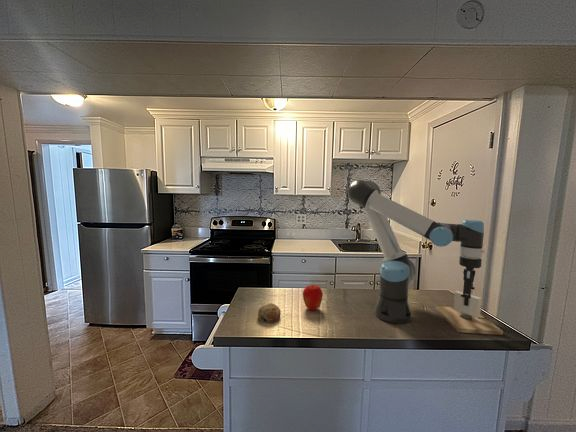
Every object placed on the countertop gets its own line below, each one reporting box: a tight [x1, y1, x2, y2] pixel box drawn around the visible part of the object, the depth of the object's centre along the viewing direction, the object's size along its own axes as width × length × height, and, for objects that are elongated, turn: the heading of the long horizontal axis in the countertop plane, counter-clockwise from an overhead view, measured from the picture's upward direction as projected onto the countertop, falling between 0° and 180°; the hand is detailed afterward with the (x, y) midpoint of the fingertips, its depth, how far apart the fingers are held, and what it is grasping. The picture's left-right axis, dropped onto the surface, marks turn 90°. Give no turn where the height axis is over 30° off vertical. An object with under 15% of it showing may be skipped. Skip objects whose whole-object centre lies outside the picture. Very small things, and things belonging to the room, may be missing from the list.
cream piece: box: [453, 290, 482, 320], centre depth 111 cm, size 10×9×10 cm
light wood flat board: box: [435, 305, 504, 336], centre depth 110 cm, size 16×20×2 cm
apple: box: [302, 284, 324, 312], centre depth 119 cm, size 9×9×12 cm
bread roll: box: [257, 303, 281, 324], centre depth 111 cm, size 10×10×8 cm
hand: (466, 307), depth 109 cm, fingers open, 10 cm apart
